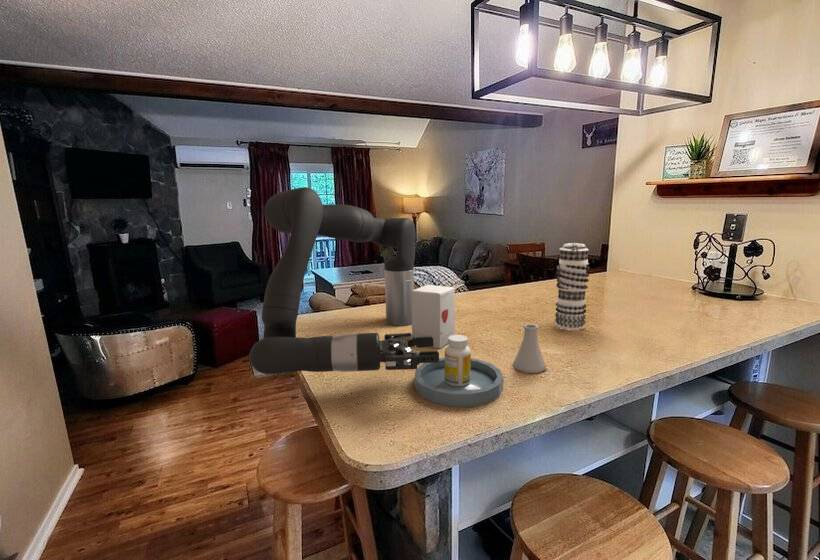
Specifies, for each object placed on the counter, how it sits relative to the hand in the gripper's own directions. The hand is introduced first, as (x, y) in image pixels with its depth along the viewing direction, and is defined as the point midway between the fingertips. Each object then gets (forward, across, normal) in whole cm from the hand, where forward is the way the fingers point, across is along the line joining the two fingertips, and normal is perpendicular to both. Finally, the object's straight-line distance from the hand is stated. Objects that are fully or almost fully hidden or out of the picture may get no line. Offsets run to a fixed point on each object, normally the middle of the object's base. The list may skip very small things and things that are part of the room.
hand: (435, 348), depth 82 cm
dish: (+5, 0, +8) cm, 10 cm away
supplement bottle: (+4, 0, +8) cm, 9 cm away
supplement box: (+3, +27, +8) cm, 29 cm away
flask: (+23, +7, +9) cm, 25 cm away
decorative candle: (+46, +35, +8) cm, 58 cm away
